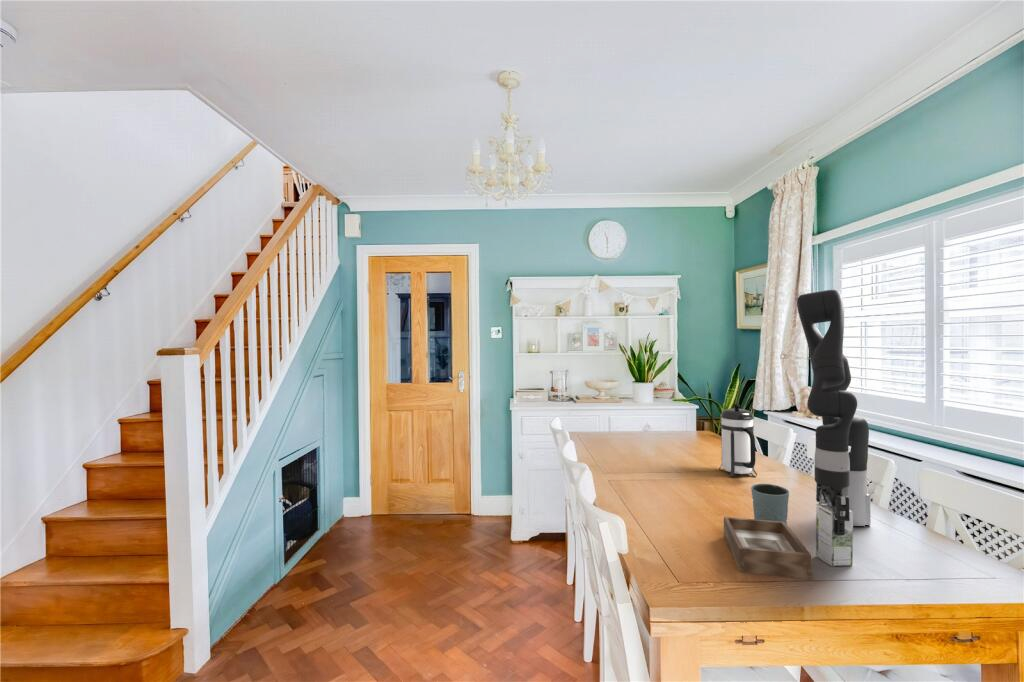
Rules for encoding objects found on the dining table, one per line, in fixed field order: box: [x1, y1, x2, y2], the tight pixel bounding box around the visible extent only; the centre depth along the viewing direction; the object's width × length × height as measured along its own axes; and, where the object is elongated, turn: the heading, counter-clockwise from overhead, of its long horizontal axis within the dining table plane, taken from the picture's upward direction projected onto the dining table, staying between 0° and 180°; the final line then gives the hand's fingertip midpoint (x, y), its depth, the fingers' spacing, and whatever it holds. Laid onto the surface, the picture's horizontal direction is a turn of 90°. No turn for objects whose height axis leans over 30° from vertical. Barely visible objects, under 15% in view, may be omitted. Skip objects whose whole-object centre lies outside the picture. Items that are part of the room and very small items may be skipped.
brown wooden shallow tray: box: [723, 516, 813, 580], centre depth 121 cm, size 16×20×6 cm
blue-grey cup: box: [751, 483, 790, 525], centre depth 139 cm, size 10×10×12 cm
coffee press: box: [718, 402, 758, 479], centre depth 190 cm, size 17×16×30 cm
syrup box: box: [815, 503, 854, 567], centre depth 118 cm, size 6×6×14 cm
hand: (831, 527), depth 118 cm, fingers open, 8 cm apart
